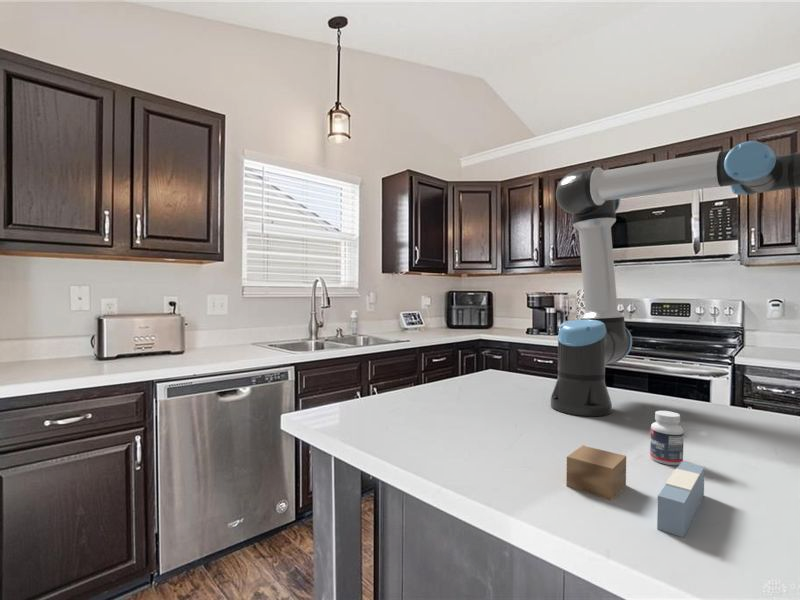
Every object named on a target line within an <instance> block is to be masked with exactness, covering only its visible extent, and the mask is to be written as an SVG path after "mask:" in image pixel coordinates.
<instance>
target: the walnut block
mask: <svg viewBox="0 0 800 600" xmlns="http://www.w3.org/2000/svg"><path fill="white" fill-rule="evenodd" d="M626 486H627V455H625V454H621V453H615V452H612V451H607V450H604V449H600V448H595V447H591V446H586V445H581V446H580V447H578V448H577V449H575V450H574V451H573V452H572V453H570V454H568V455H567V456H566V487H568V488H571V489H575V490H578V491H581V492H585V493H588V494H591V495H594V496H597V497H600V498H603V499H607V500H610V501H613V500H614V499H615V498H616V496H618V495H619V493H620V492H621V491H622V490H623V489H624V488H625V487H626Z"/></svg>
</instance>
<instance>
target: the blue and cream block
mask: <svg viewBox="0 0 800 600" xmlns="http://www.w3.org/2000/svg"><path fill="white" fill-rule="evenodd" d="M674 469H675V470H674V471H673V472H672V474H670V476H669V478H668V479H667V481H666V482H665V485H664V486H663V487H662V489H661V490H660V492H659V494H658V495H657V517H656V518H657V520H656V521H657V525H656V529H657V530H660V531H662V532H665V533H669V534H672V535H675V536H678V537H680V538H685V536H686V533H687V532H688V530H689V527H690V525H691V523H692V521H693V519H694V517H695V515H696V513H697V511H698V508H699V506H700V504H701V502H702V500H703V498H704V495H705V466H704V465H701V464H696V463H692V462H691V463H690V462H686V461H684V460H683V461H682V462H681V463H680V465H677V468H674Z"/></svg>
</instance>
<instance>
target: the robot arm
mask: <svg viewBox="0 0 800 600" xmlns="http://www.w3.org/2000/svg"><path fill="white" fill-rule="evenodd" d="M719 187H730V189H731V192H732V193H733V194H734V195H738V196H739V195H754V194H759V193H767V192H776V191H782V190H783V191H784V190H790V189H791V190H794V189H798V188H799V189H800V151H798V152H793V153H788V154H782V155H776V154H775V151H774V150H773V149H772V148H771V147H770V146H769V145H767V144H765V143H762V142H760V141H756V140H747V141H743V142H741V143H739V144H737V145H735V146H734V147H732V148H730V149H725V150H719V151H714V152H712V151H711V152H707V153H702V154H696V155H690V156H683V157H677V158H671V159H666V160H658V161H653V162H647V163H640V164H636V165H628V166H623V167H617V168H611V169H605V170H604V169H603V168H602V167H594V168H587V169H586V168H585V169H579V170H576V171H572V172H570V173H567V174H566V175H565V176H564V177H562V179H561V180H560V181H559V183H558V185H557V187H556V190H555V198H556V202H557V204H558V206H559V207H560V208H561V209H562V210H563V211H564V212H566V213H568V214H571V221H572V227H573V228H574V229H576V230H577V231H578V238H579V251H580V262H581V263H580V264H581V275H582V287H583V301H584V313H583V314H582V315H581V317H579V319H575V320H574V319H573V320H568V321H564V322H562V323H561V324H560V325H559V328H558V335H557V379H556V383H555V385H554V387H553V391H552V393H551V396H550V407H551V408H552V409H554V410H556V411H558V412H561V413H565V414H567V415H568V414H569V415H575V416H583V417H601V416H603V417H604V416H608V415H610V414H611V413H612V412H613V411H612V408H613V405H612V400H611V396H610V394H609V391H608V387H607V385H606V384H607V383H606V365H613V364H615V363H618V362H620V361H621V360H623V359H624V358H626V357H627V356H628V355H629V353H630V351H631V349H632V346H633V338H632V337H633V336H632V334H631V332H630V330H629V329H628V328H627V327H626V323H625V315H624V314H622V313H621V311H619V310H618V300H617V287H616V286H617V285H616V275H615V264H614V263H615V262H614V261H615V260H614V253H613V252H614V250H613V249H614V248H613V237H612V226H613V225H614V224H615V223H616V221H617V217H616V216H617V210H619V208H620V204H621V199H622V200H623V199H629V198H637V197H638V198H639V197H644V196H645V197H646V196H654V195H662V194H668V193H670V194H671V193H679V192H686V191H695V190H702V189H710V188H719ZM798 202H799V203H798V213H799V214H800V195H799V199H798ZM797 230H798V233H800V217H798V229H797Z"/></svg>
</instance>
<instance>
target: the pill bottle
mask: <svg viewBox="0 0 800 600" xmlns="http://www.w3.org/2000/svg"><path fill="white" fill-rule="evenodd" d="M654 414H655V415H654V420H655V422H652V424H650V425H651V426H650V445H649V446H650V447H649V448H650V449H649V454H650V455H649V456H650V459H651V460H652V461H654V462H657V463H659V464H662V465H668V466H679V465H680V463H681V462H682V461H683V462H684V440H685V439H684V437H685V436H684V435H685V434H684V432H685V431H684V429H683V427H682V426H681V425H680V423H681V415H680V413H678V412H674V411H669V410H657V411H655V413H654Z"/></svg>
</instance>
